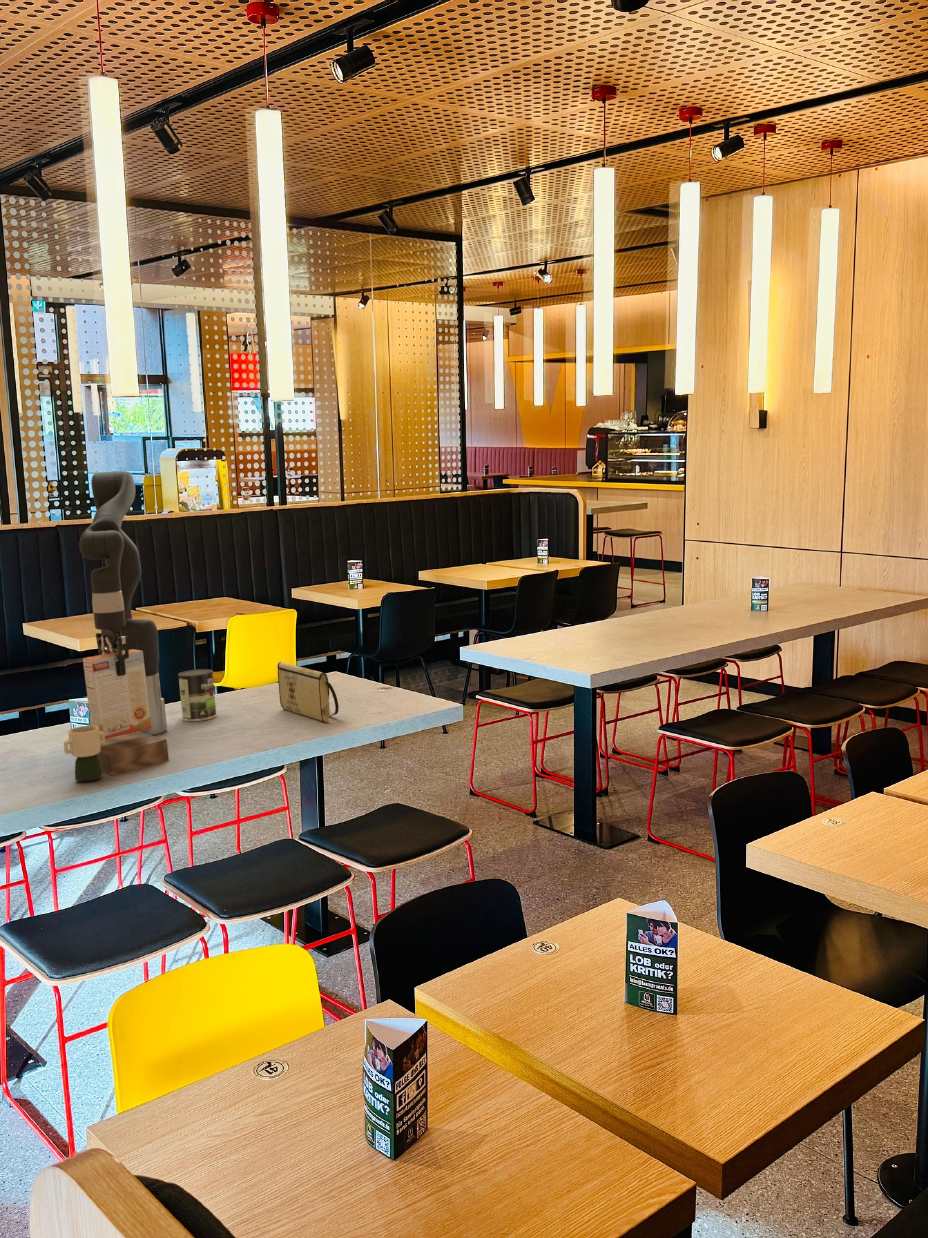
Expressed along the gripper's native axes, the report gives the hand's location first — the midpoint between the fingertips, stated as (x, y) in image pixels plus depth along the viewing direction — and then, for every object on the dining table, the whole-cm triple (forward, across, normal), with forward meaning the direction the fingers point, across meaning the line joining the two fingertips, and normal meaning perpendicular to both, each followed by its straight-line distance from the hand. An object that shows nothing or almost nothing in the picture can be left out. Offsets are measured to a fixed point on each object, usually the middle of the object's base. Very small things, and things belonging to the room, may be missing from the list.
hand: (115, 673), depth 266 cm
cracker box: (+16, 0, 0) cm, 16 cm away
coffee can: (+24, +29, -38) cm, 53 cm away
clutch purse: (+24, +3, -61) cm, 65 cm away
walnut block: (+24, 0, 0) cm, 24 cm away
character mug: (+24, -7, +13) cm, 28 cm away
